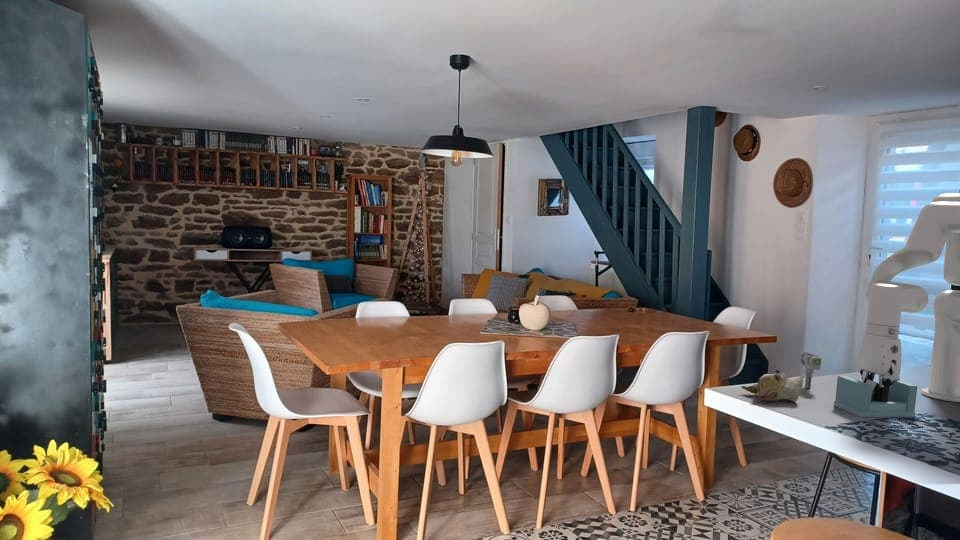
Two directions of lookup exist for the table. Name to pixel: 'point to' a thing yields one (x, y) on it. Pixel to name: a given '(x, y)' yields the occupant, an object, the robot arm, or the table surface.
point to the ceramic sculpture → (777, 387)
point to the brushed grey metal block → (873, 389)
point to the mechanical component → (809, 366)
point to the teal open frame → (858, 402)
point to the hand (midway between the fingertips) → (874, 398)
